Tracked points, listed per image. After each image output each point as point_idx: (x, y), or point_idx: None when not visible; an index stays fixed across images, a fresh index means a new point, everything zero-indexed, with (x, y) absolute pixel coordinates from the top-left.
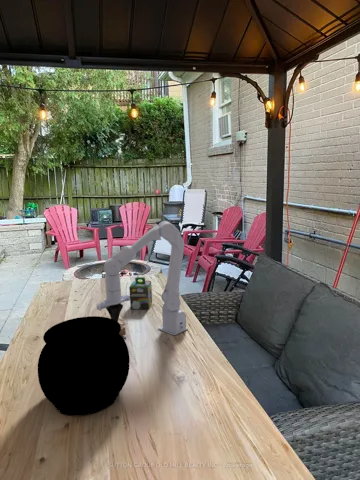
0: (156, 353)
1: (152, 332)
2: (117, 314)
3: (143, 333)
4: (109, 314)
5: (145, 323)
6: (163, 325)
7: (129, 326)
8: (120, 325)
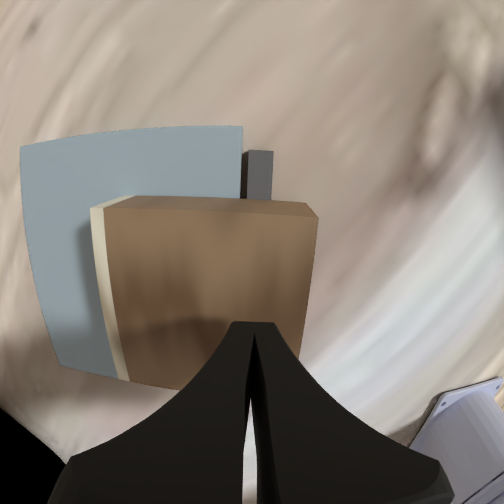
0: (247, 493)
1: (402, 403)
2: (257, 471)
3: (373, 388)
4: (191, 380)
5: (486, 293)
6: (442, 433)
7: (422, 248)
8: (295, 349)
